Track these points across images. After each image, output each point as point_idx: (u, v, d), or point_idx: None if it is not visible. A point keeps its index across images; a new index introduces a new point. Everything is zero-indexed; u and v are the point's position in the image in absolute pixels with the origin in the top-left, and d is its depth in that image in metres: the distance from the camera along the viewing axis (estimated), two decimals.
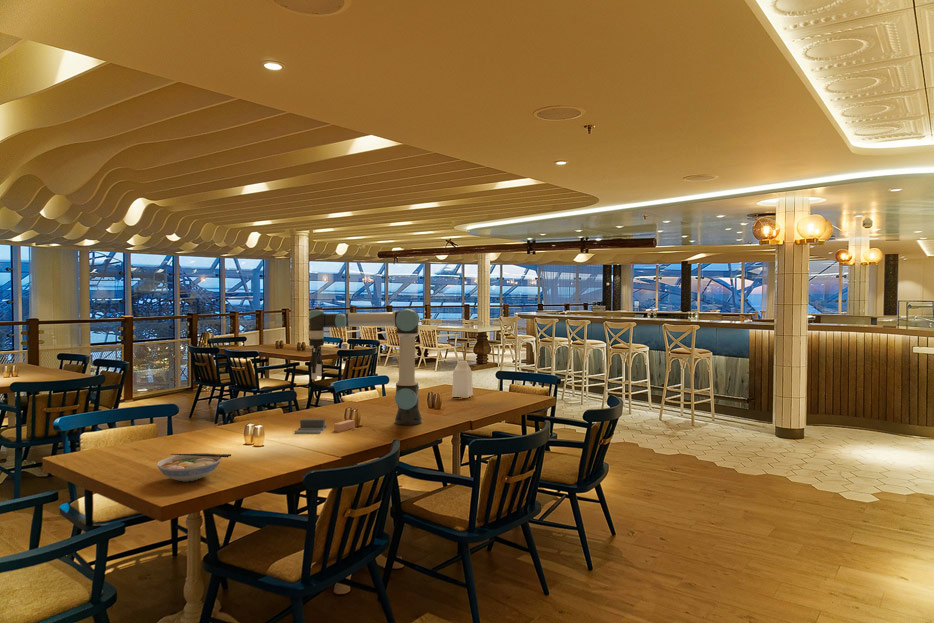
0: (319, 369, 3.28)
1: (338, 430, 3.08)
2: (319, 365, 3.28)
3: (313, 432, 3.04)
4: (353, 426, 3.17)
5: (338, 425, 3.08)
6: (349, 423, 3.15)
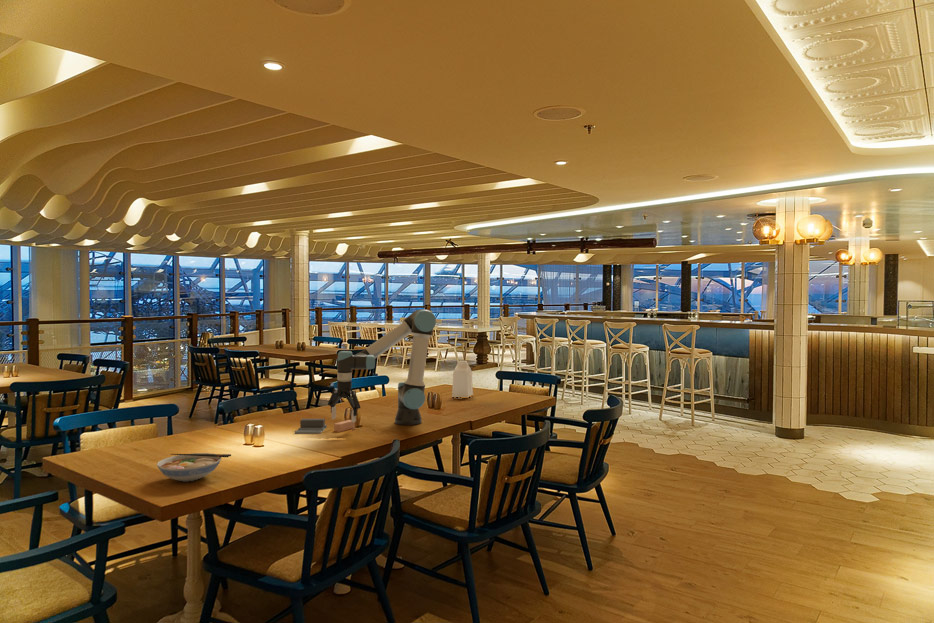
0: (334, 412, 3.17)
1: (338, 430, 3.08)
2: (335, 408, 3.17)
3: (313, 432, 3.04)
4: (353, 426, 3.17)
5: (338, 425, 3.08)
6: (349, 423, 3.15)
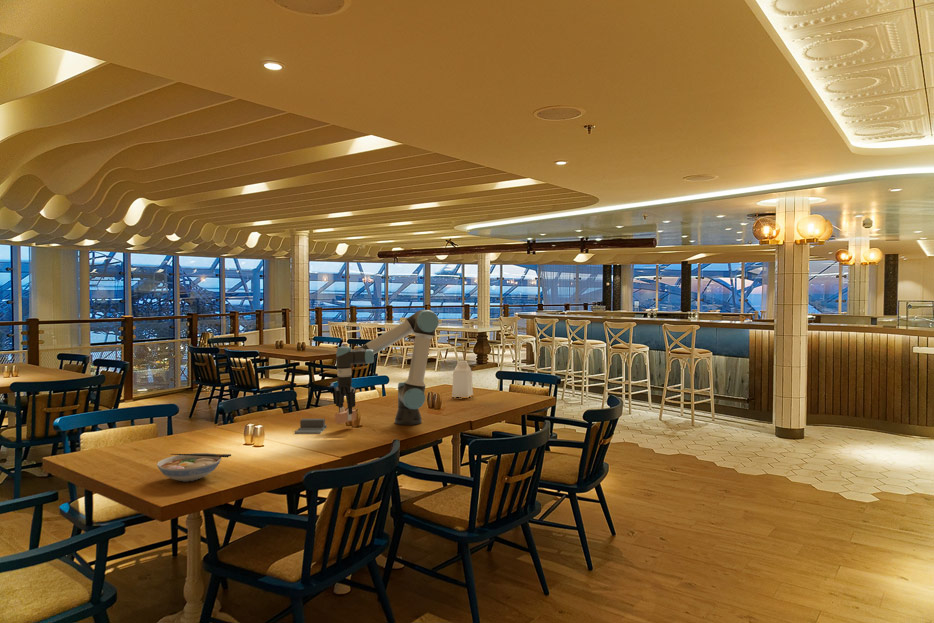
0: None
1: (339, 419, 3.08)
2: (343, 408, 3.15)
3: (313, 432, 3.04)
4: (354, 416, 3.17)
5: (339, 414, 3.08)
6: None
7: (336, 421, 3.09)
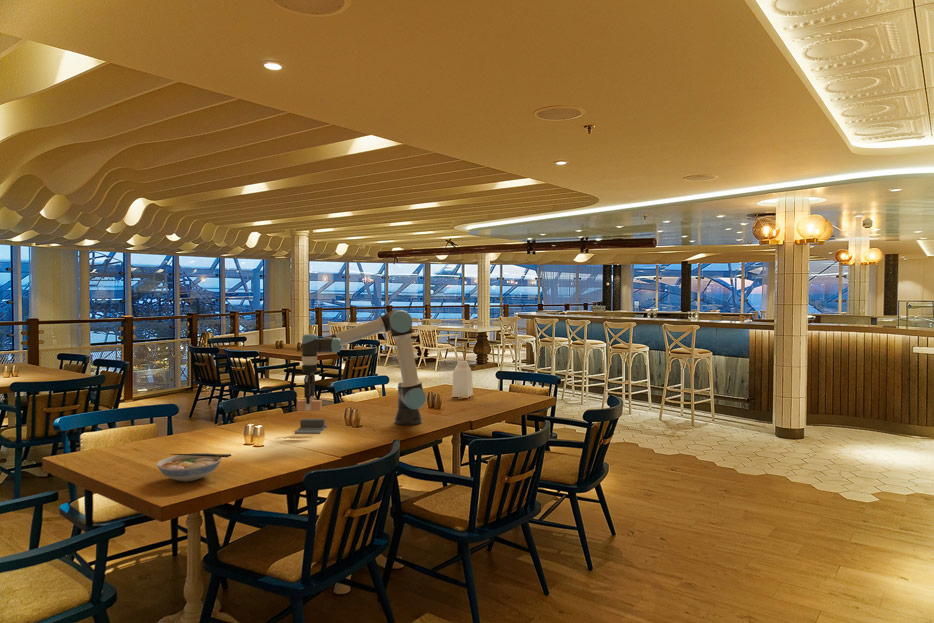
0: None
1: None
2: (311, 397, 3.09)
3: (313, 432, 3.04)
4: (317, 407, 3.06)
5: None
6: (311, 402, 3.06)
7: None
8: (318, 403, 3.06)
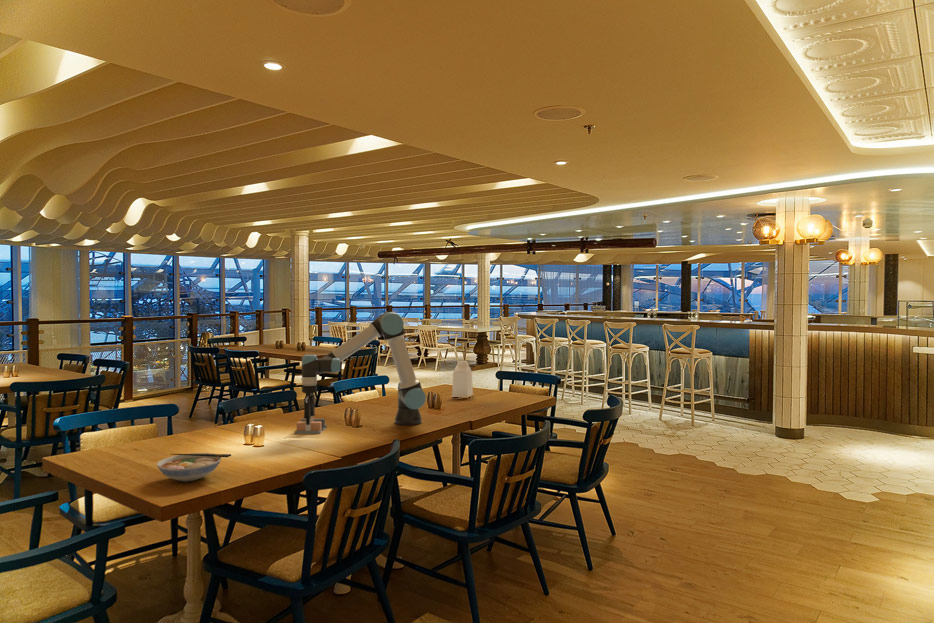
0: None
1: None
2: (311, 417, 3.10)
3: (313, 432, 3.04)
4: (317, 428, 3.06)
5: None
6: (311, 424, 3.06)
7: None
8: (318, 425, 3.06)
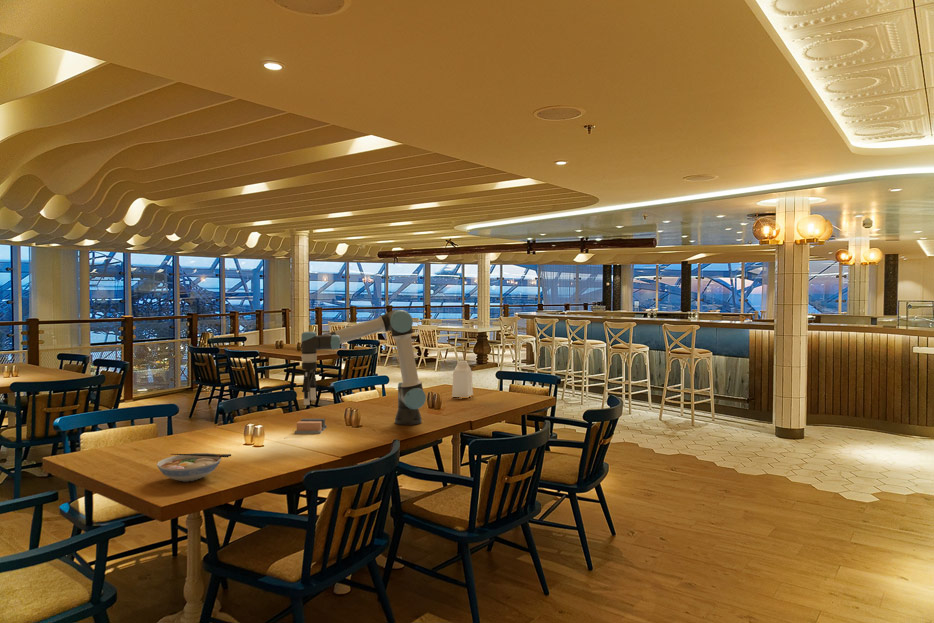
0: (313, 393, 3.14)
1: None
2: (313, 389, 3.14)
3: (313, 432, 3.04)
4: (317, 428, 3.06)
5: None
6: (311, 424, 3.06)
7: None
8: (318, 425, 3.06)
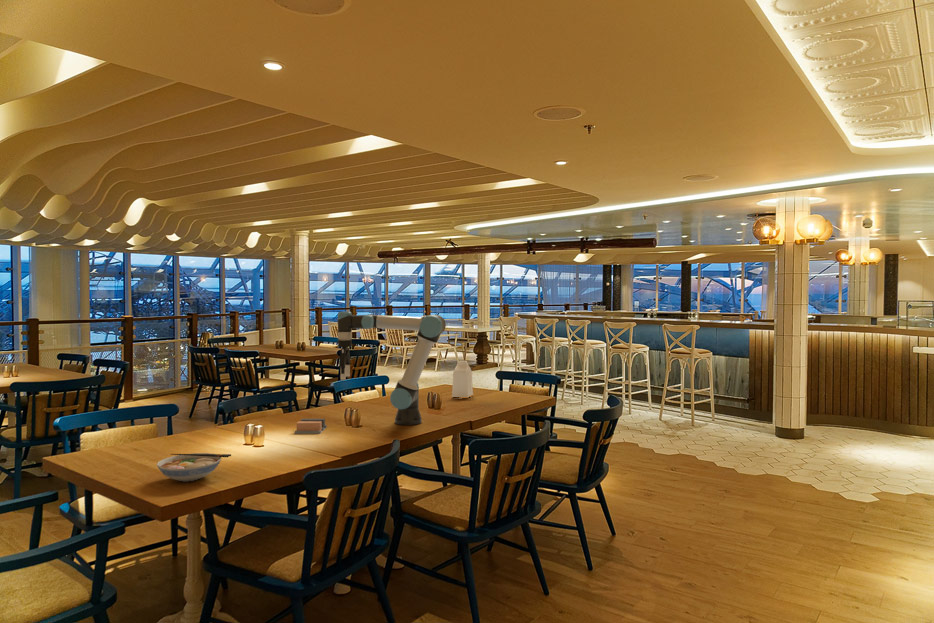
0: (347, 370, 3.33)
1: None
2: (347, 366, 3.33)
3: (313, 432, 3.04)
4: (317, 428, 3.06)
5: None
6: (311, 424, 3.06)
7: None
8: (318, 425, 3.06)
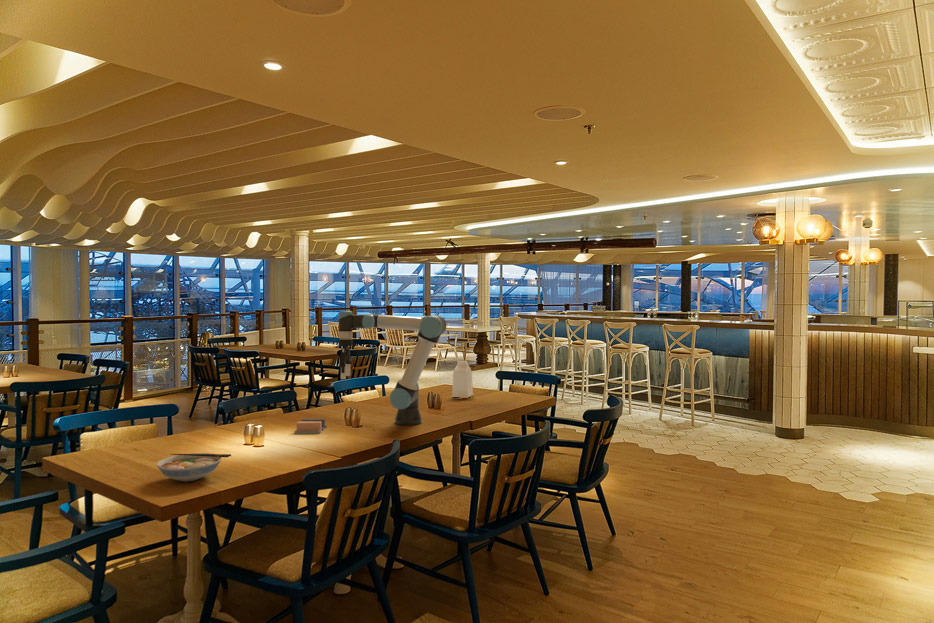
0: (348, 369, 3.34)
1: None
2: (348, 365, 3.34)
3: (313, 432, 3.04)
4: (317, 428, 3.06)
5: None
6: (311, 424, 3.06)
7: None
8: (318, 425, 3.06)
